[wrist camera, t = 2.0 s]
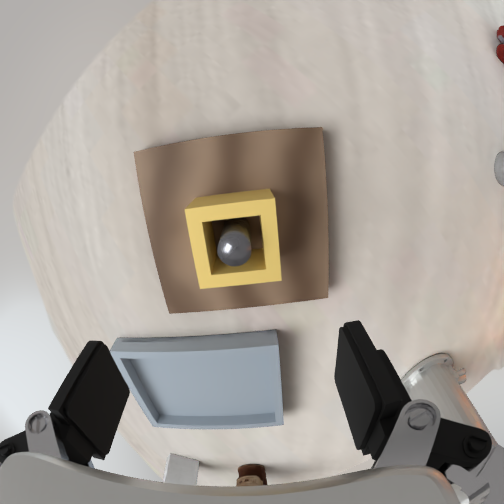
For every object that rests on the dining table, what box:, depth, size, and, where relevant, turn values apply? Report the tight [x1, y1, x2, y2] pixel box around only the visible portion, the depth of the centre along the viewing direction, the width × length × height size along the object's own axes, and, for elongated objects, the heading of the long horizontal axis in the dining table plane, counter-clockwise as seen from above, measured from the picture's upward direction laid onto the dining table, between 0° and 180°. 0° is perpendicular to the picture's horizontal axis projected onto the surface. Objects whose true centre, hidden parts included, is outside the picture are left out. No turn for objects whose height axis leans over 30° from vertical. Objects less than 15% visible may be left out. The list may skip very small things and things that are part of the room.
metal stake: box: [217, 217, 251, 266], centre depth 24 cm, size 3×3×6 cm
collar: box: [185, 189, 282, 289], centre depth 25 cm, size 7×7×5 cm
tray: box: [110, 329, 284, 429], centre depth 36 cm, size 22×18×3 cm
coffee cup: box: [236, 464, 267, 487], centre depth 44 cm, size 9×8×13 cm
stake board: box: [134, 127, 329, 314], centre depth 28 cm, size 18×18×2 cm
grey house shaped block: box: [163, 453, 199, 486], centre depth 44 cm, size 4×7×10 cm, turn 65°
